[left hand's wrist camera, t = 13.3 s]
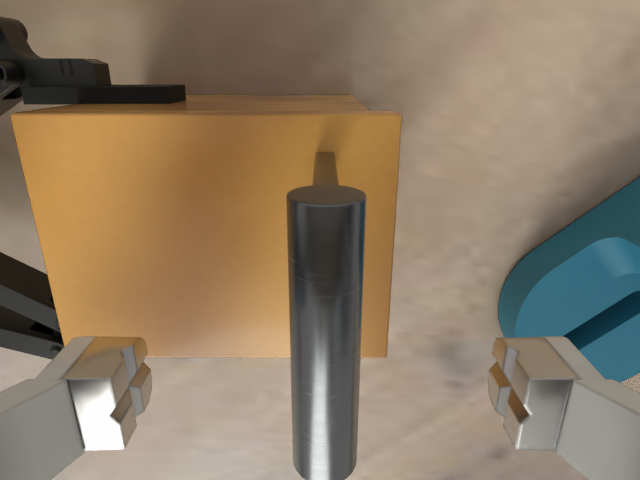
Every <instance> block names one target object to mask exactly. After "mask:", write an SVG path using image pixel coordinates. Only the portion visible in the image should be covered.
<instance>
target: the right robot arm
mask: <svg viewBox="0 0 640 480" xmlns="http://www.w3.org/2000/svg"><path fill="white" fill-rule="evenodd" d="M27 36H28V34H27V30H26V28H25V27H24V25H23V24H22V23H21V22H20V21H18V20H15V19H11V18H5V17H0V116H1V115H2V114H4V113H5V112H6V111H8V110H9V109H11V108H12V107H13V106H15V105H16V104H18V103H19V102H20V101H22V100H23V102H24V104H171V103H175V102H180V101H184V100H186V94H185V85H111V80H110V73H109V67H108V64H107V63H104V62H102V61H99V60H97V59H43V58H41V57H39V56H37V55H36V54H35V53H34V52H33V51H32V50H31V48H30V46H29V45H28V43H27ZM0 347H3V348H8V349H12V350H16V351H20V352H24V353H28V354H32V355H36V356H40V357H45V358H49V359H54V358H55V357H56V356H57V354H58V353H59V352H60V351H61V350H62V349H63V348H64V343H63V339H62V334H61V330H60V326H59V322H58V317H57V313H56V309H55V305H54V300H53V296H52V292H51V288H50V283H49V279H48V275H47V274H45V273H43V272H41V271H39V270H37V269H34V268H32V267H30V266H28V265H26V264H24V263H22V262H20V261H18V260H16V259H14V258H11V257H9V256H7V255H5V254H3V253H1V252H0Z"/></svg>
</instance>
